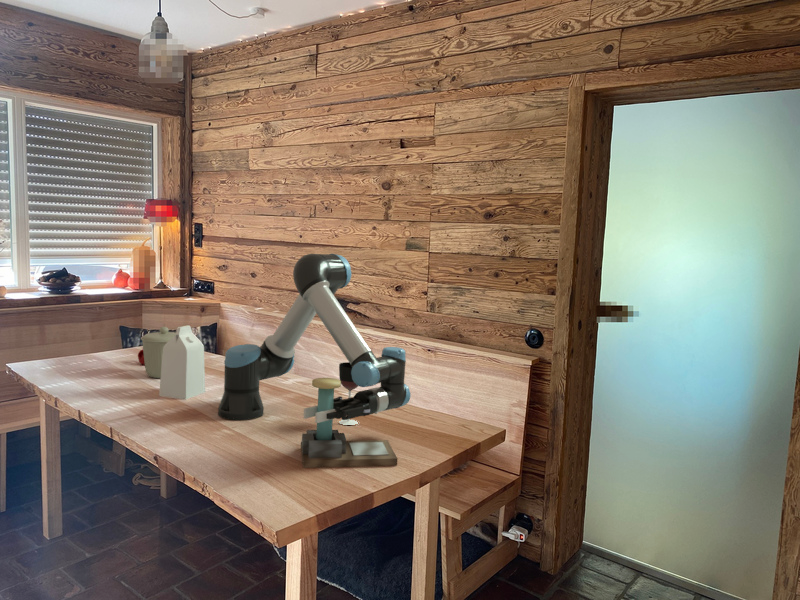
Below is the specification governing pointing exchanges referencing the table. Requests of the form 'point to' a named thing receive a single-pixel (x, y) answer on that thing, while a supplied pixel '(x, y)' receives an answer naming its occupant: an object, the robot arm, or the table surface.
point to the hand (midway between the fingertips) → (310, 415)
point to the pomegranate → (141, 357)
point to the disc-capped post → (325, 404)
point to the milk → (182, 366)
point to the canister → (155, 350)
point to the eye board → (353, 459)
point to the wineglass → (347, 385)
